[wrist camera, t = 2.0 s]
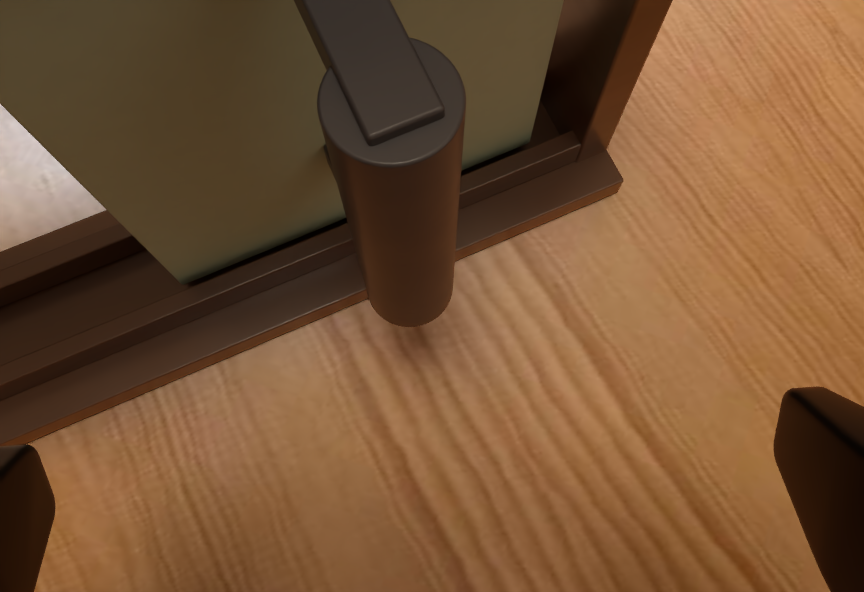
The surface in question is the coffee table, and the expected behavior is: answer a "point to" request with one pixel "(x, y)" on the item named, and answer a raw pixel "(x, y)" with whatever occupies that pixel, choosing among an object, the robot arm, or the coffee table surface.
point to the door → (281, 121)
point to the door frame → (289, 250)
